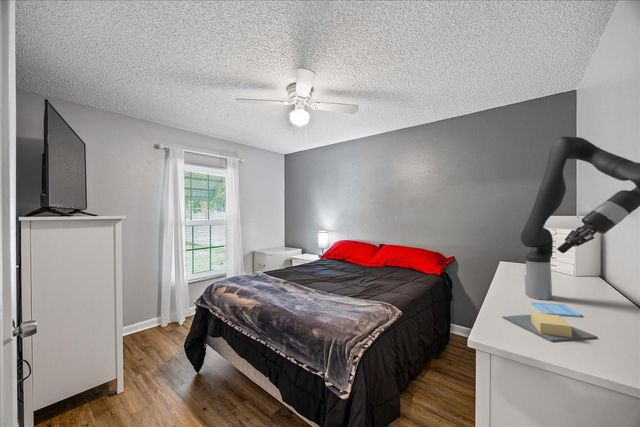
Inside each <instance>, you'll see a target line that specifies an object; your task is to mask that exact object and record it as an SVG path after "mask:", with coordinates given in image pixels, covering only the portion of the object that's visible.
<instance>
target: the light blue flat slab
mask: <svg viewBox="0 0 640 427" xmlns="http://www.w3.org/2000/svg"><path fill="white" fill-rule="evenodd" d="M530 305H531V306H533V307H534V308H535V309H537V310H538V311H540V312H541V314H549V315H559V316H560V317H568V318H569V317H572V318H583V314H581V313H580V312H579V311H576V309H573V308H571V307H569V306H567V305H566V304H562V303H561V304H560V303H549V302H548V303H546V302H542V303H541V302H530Z"/></svg>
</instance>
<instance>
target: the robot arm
mask: <svg viewBox="0 0 640 427" xmlns="http://www.w3.org/2000/svg"><path fill="white" fill-rule="evenodd" d="M567 160H578V161H583V162H586V163H588V164H590V165H592V166H593V167H595V169H597V171H599V172H600V173H602V174H604V175H606V176H609V177H611V178H612V179H613V178H614V179H615V180H617V181H622V182H624V181H625V182H627V181H630V182H632V183H633V184H634V186H635V188H632V189H631V190H628V189H625V190H623V189H622V190H620V191H617V192H615V193H614V194H613V195H612V196H611V197H609V199H606V201H604V202H602V203H601V204H598V206H596V207H595V208H594V209H592V210H591V211H590V212H589V213H588V214H586V215H584V217H582V218H581V222H582V223H583V225H582V226H578V227H576V228H575V230H574V229H572V230H571V231H570V232H569V233H568V235H567V236H566V237H565V239H564V242H563V243H562V244H561V245H559V246H558V247H557V248H556V250H557V252H559V253H561V254H565V253H566V252H568V251H569V250H570V249H572V248H573V247H580V246H581V245H584V244H585V243H588V242H590V241H592V240H594V239H595V235H596V234H597V233H598V234H601V235H604V234H606V233H607V232H609V231H610V230H612V229H613V228H614V227H616V226H617V225H619V223H621V222H623V220H625V219H626V218H627V216H629V215H630V214H631V213H633V212H635V210H637V209H639V208H640V162H635V161H633V160H630V159H629V158H626V157H622V156H619V155H617V154H614V153H612V152H609V151H606V150H604V149H602V148H600V147H599V146H596V145H595V144H593V143H592V142H590V141H588V139H585V138H583V137H578V136H559V137H558V138H556V139H555V140H554V141H553V143H552V145H551V146H550V149H549V154H548V157H547V163H546V166H545V167H546V168H545V171H544V174H543V177H542V181H541V182H540V186H539V188H538V191H537V194H536V197H535V201H534V203H533V206H532V208H531V210H530V211H531V212H530V214H529V216H528V219H527V220H526V223H525V225H524V227H523V229H522V232H521V235H520V241H521V243H522V245H523V246H525V247H527V248H531V250H530V252H528V253H526V255H525V270H526V274H525V275H524V287H525V288H524V290H525V295H526V296H527V297H529V298H531V299H537V300H544V301H545V300H546V301H548V300H549V301H550V300H552V299H553V291H552V290H553V288H552V287H553V286H552V285H553V284H552V264H551V260H552V256H553V252H554V251H553V247H554V240H553V235H552V234H553V233H552V232H551V231H550V230H549V229H548V228H546V227H545V225H546V222H547V221H548V219H549V218H550V217H551V216H552V215H553V214H555V212H556V211H557V210H558V209H559V207H560V206H561V205H562V203H563V200H564V198H565V195H566V192H567V186H566V182H565V177H564V168H565V165H566V163H567Z"/></svg>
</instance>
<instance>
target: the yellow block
mask: <svg viewBox="0 0 640 427" xmlns="http://www.w3.org/2000/svg"><path fill="white" fill-rule="evenodd" d="M530 315H531V322H532V324H533V325H534V326H535V327H536V329H537V330H538V331H539V332H540V333H541V334H549V335H557V336H565V337H572V328H571V326H572V325H570V324H569V322H567V321H566V320H565V319H564V318H563V317H562V316H559V315H549V314H544V313H537V312H530Z"/></svg>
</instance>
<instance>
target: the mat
mask: <svg viewBox="0 0 640 427" xmlns="http://www.w3.org/2000/svg"><path fill="white" fill-rule="evenodd" d="M501 318H502V319H503V318H504V320H505V319H506V320H505V321H507V320H508V322H509V321H510V323H512V324H513V325H516V326H517V327H520V328H522V329H524V330H525V331H528V332H530V333H532V334H534V335H537V336H538V337H541V338H542V339H543V340H544V339H545V340H546V341H547V342H564V341H565V342H567V341H581V340H595V339H598V336H597V335H594V334H592V333H589V332H587V331H584V330H582V329H579V328H577V327H574V326H572V325H570V326H571V328H572V337H565V336H557V335H549V334H541V333H540V332H539V331H538V330H537V329H536V327H535V326H534V325H533V324H532V322H531V314H520V315H505V316H504V315H503V316H502V317H501Z"/></svg>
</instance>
